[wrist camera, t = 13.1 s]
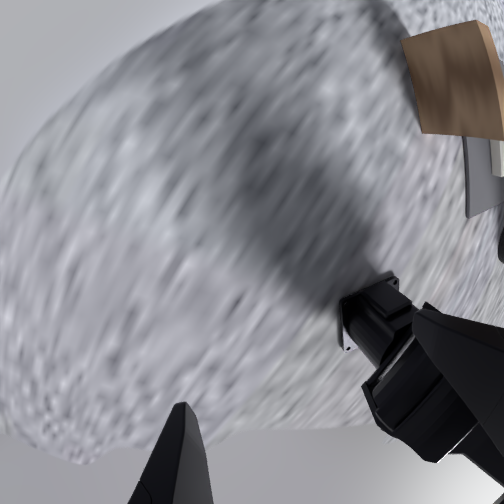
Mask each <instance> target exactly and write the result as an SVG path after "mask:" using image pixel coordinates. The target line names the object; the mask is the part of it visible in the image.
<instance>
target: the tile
mask: <svg viewBox="0 0 504 504" xmlns="http://www.w3.org/2000/svg"><path fill="white" fill-rule="evenodd" d="M490 145H491V159H492V175H495V176H499V177H503V176H504V141H498V140H491V139H490Z"/></svg>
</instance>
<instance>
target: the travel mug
mask: <svg viewBox="0 0 504 504" xmlns="http://www.w3.org/2000/svg"><path fill="white" fill-rule="evenodd" d="M498 257H499V260H500V261H501V262H502V263H504V229H503V231H502V234H501V238H500V242H499V248H498Z"/></svg>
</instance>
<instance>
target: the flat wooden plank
mask: <svg viewBox="0 0 504 504" xmlns="http://www.w3.org/2000/svg"><path fill="white" fill-rule="evenodd" d="M400 41H401V44H402V47H403V50H404V54H405V57H406V60H407V64H408V68H409V71H410V75H411V79H412V83H413V88H414V92H415V97H416V101H417V106H418V112H419V117H420V123H421V129H422V133H424V134H442V135H455V136H466V137H475V138H484V139H491V140H498V141H504V77H503V73H502V69H501V65H500V61H499V58H498V54H497V51H496V48H495V45H494V42H493V39H492V36H491V33H490V30H489V27H488V26H486V25H485V24H483V23H481V22H479V21H477V20H473V21H468V22H463V23H459V24H455V25H450V26H446V27H443V28H439V29H435V30H432V31H428V32H425V33H422V34H418V35H415V36H412V37H409V38H406V39H403V40H400Z"/></svg>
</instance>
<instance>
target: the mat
mask: <svg viewBox="0 0 504 504" xmlns="http://www.w3.org/2000/svg"><path fill="white" fill-rule="evenodd" d="M499 61H500V65H501V69H502V73H503V77H504V63H503V61H501V60H499ZM463 141H464V152H465V165H466V191H467V206H466V217H467V218H472V217H474V216H476V215H478V214H480V213H482V212H484V211H486V210H488V209H490V208H492V207H495V206H497V205H499V204H501V203H503V202H504V176H503V177H499V176H495V175H492V159H491V145H490V139H484V138H475V137H466V136H463Z"/></svg>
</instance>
